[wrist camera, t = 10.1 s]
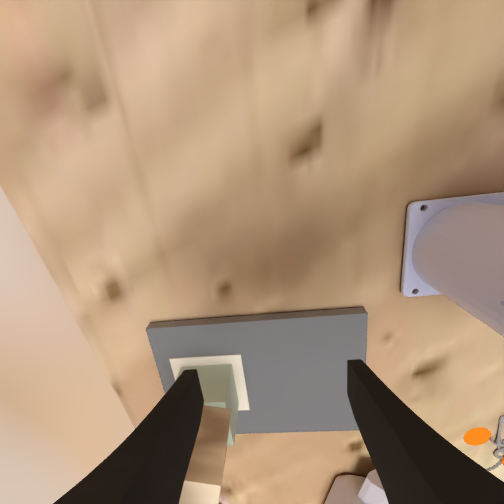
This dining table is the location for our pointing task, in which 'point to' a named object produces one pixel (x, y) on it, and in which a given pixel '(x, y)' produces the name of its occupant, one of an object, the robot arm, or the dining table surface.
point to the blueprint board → (273, 364)
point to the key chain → (483, 435)
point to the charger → (357, 490)
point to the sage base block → (219, 390)
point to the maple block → (207, 458)
